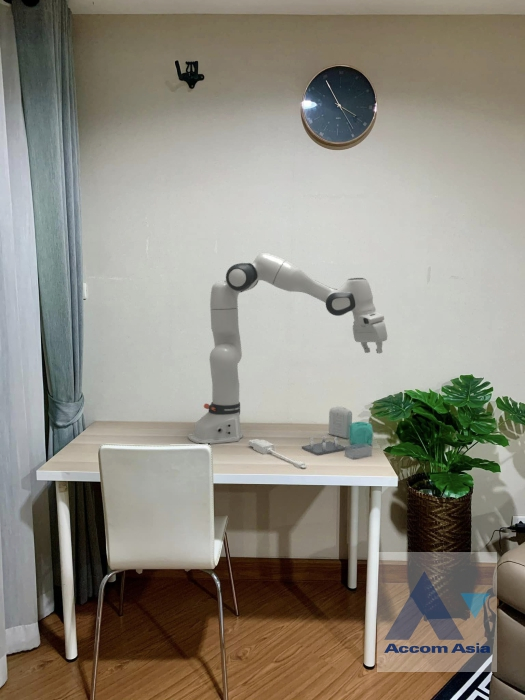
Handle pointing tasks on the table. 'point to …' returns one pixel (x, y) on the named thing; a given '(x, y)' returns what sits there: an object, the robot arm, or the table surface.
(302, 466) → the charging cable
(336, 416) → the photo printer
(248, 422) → the table surface
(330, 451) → the peg board
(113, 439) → the table surface
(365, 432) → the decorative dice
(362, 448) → the block
